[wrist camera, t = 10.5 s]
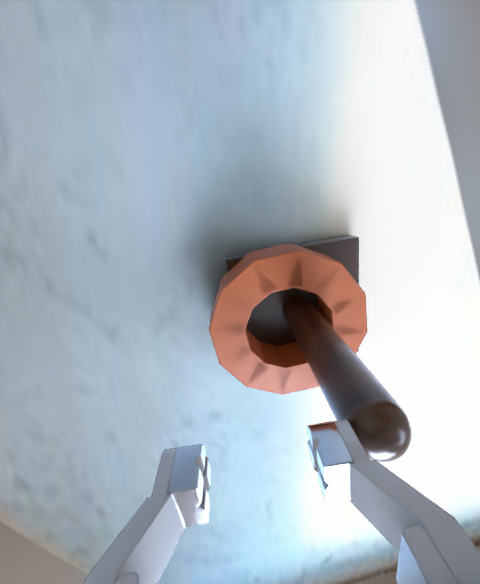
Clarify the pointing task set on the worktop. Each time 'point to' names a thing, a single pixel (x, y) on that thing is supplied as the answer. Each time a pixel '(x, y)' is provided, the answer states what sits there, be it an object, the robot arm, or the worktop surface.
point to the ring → (272, 278)
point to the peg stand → (333, 356)
